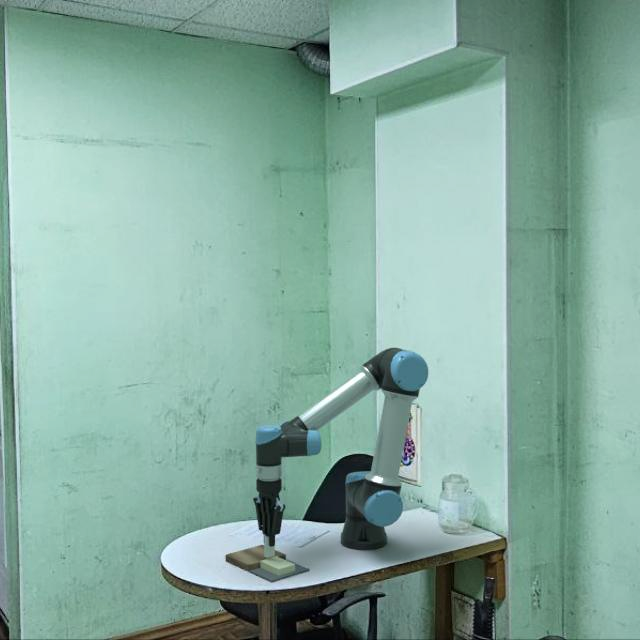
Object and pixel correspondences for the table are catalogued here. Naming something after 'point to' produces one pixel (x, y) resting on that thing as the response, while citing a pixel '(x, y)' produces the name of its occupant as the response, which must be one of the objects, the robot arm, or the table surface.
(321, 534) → the table surface
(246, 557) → the wooden board
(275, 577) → the mat
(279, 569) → the tile
